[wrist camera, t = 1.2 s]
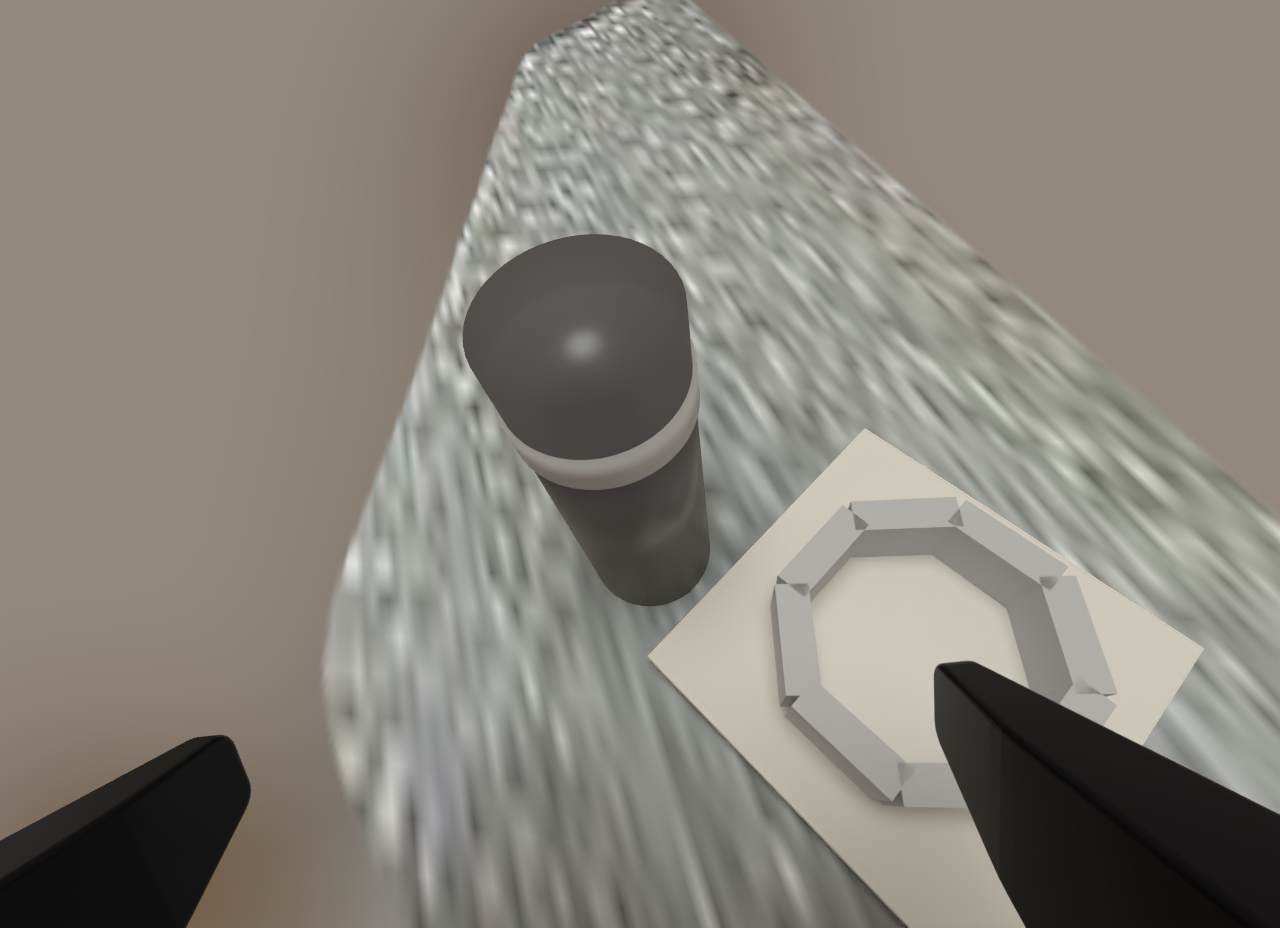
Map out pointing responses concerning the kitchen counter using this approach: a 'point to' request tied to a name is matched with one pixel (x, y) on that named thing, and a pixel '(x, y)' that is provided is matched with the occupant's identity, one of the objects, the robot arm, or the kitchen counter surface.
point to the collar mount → (904, 667)
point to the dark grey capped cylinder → (602, 403)
